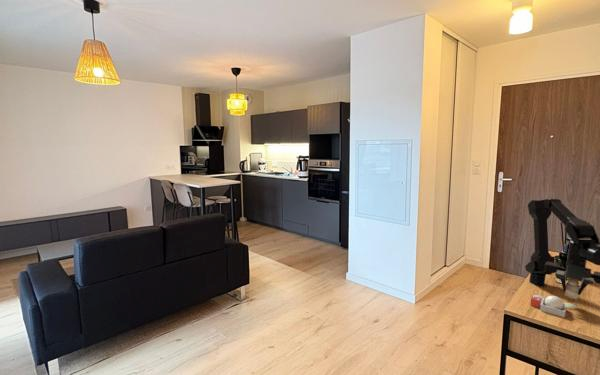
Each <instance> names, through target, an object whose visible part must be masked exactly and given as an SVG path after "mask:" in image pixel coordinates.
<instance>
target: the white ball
mask: <svg viewBox="0 0 600 375" xmlns="http://www.w3.org/2000/svg"><path fill="white" fill-rule="evenodd" d="M545 298H546V299H545V304H544V305H545V306H549V307H552V308H556V309H560V310H562V308H563V303H564V302H563V301H562V299H561V298H559V297H558V296H556V295H548V296H547V297H545Z"/></svg>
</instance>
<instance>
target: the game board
mask: <svg viewBox="0 0 600 375" xmlns="http://www.w3.org/2000/svg"><path fill="white" fill-rule="evenodd" d="M533 296H535V297H538V298H541V305H540V308H539V311H540V312H544V313H547V314H551V315H555V316H558V317H561V318H565V317H566V311H567V308H568V309H578V306H576V304H573V303H570V302H563V308H562V309H561V310H560V309H556V308H552V307H549V306H546V305H545V299H546V298H547V297H545V296H544V295H543V296H542V295H541V294H540V295H539V294H533Z"/></svg>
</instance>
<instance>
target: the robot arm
mask: <svg viewBox="0 0 600 375" xmlns="http://www.w3.org/2000/svg"><path fill="white" fill-rule="evenodd" d="M527 209H528V213H529V216H530V217H531V218H532V219H533V235H534V236H533V237H534V238H533V239H534V252H533V253H532V254H531V256H530V262H528V263H526V264H525V267H524V268H525V271H526V272H528V273H530V274H529V283H530V284H532V285H534V286H536V287H544V286H545V285H546V284H545V283H546V277H547V276H546V275H548V276H552V274H555V276H556V277H558V278H559V280H560V282H561V286H562V289H563V290H562V291H563V292H564V293H565V290H566V283H567V280H566V279H567V278H568V279H570V278H572V279H577V280H578V282H579V281H581V282H580V285H579V286H580V287H579V293H578V296H580V295H581V294H582V293H583V291H584V290H585V288H586V287H588V285H590V284H591V285H593V284H595V283H596V284H599V285H600V271H593V273H592V269H591V268H588V267H587V261H588V262H589V263H592V264H594V265H596V266H599V267H600V238H599V237H598V234H597V231H596V230H595V227H594V225H592V224H591V223H589V222H587V221H586V220H583V219H581V218H578V217H577V216H576V215H575V213H573V212H572V210H570V209H568V207H566V205H564V204H563V202H562V200H561V199H559V198H546V199H541V200H540V199H539V200H538V199H536V200H535V199H532V200H530V201H529V202H528V204H527ZM552 214H554V216H555V217H556V218H557V219H558V220H559V221H560V222H561V223H562V224H563V225H564V230H565V232H566V233H567V235H568V237H566V238H565V241H568V242H569V243H568V244H569V249H568V255H567V262H566V268H564V267H563V266H558V265H559V264H558V263H557V262H555V259H556V258H555V256H552V255H551V254H550V252H549V251H550V250H549V235H548V234H549V233H548V232H549V231H548V220H549V218H550V216H551V215H552ZM594 282H595V283H594Z"/></svg>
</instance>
